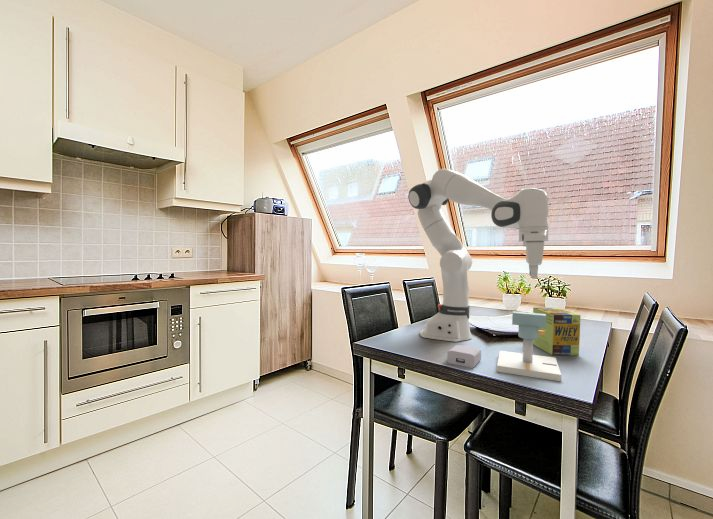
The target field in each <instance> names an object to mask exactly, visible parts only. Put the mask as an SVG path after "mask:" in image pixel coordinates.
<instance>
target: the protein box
mask: <svg viewBox="0 0 713 519" xmlns="http://www.w3.org/2000/svg"><path fill="white" fill-rule="evenodd" d="M532 313H539V314H546V328H542V327H539V330H543V331H545V335H539V334H538V339H533V346H535V347H536V348H539V349H541V350H543V351H544V352H546V353H548V354H549V355H552V356H580V337H581V336H580V335H581V314H579V313H575V312H572V311H568V310H565V309H562V308H559V307H533V309H532Z"/></svg>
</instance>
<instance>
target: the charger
mask: <svg viewBox="0 0 713 519" xmlns="http://www.w3.org/2000/svg"><path fill="white" fill-rule="evenodd" d="M446 354H447V356H446V362H447V363H448V364H452V365H456V366H461V367H465V368H472V369H473V368H474V367H475V366H477V364H478V363H479V362H481V359H482V350H481V349H480V347H479V348H478V347H474V346H468V345H461V344H456V345H454V346H453V347H451V349H449V350H447V353H446Z"/></svg>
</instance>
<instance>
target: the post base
mask: <svg viewBox="0 0 713 519" xmlns="http://www.w3.org/2000/svg"><path fill="white" fill-rule="evenodd" d="M496 372H497V373H498V372H499V373H503V374H509V375H510V374H511V375H518V376H524V377H531V378H537V379H542V380H543V379H544V380H550V381H556V382H557V381H558V382H562V373H561V369H560V367H559V364H558V362H557V358H556V357H553V356H545V355H538V354H534V345H533V339H524V338H522V352H513V351H505V350H499V353H498V360H497V365H496Z"/></svg>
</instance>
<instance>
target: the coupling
mask: <svg viewBox="0 0 713 519" xmlns="http://www.w3.org/2000/svg"><path fill="white" fill-rule="evenodd" d="M511 316H512V319H511V320H512V321H511V323H512V324H511V325H512V326H513V325H514V326H518V338H521V339H523V338H524V339H538V334H539V335H545V331H543V330H539V327H542V328H546V314H539V313H533V312H525V311H515V310H514V311H513V310H512V315H511Z"/></svg>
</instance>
